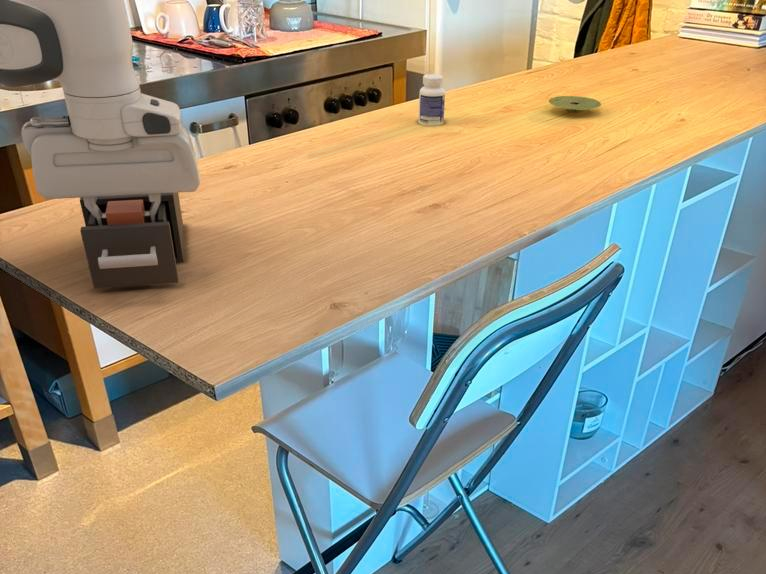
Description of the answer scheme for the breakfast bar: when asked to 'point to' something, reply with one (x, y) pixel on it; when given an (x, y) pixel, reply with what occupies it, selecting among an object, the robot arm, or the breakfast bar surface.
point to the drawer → (130, 251)
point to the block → (125, 212)
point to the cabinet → (170, 198)
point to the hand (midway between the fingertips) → (128, 227)
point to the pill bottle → (431, 101)
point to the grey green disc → (574, 103)
